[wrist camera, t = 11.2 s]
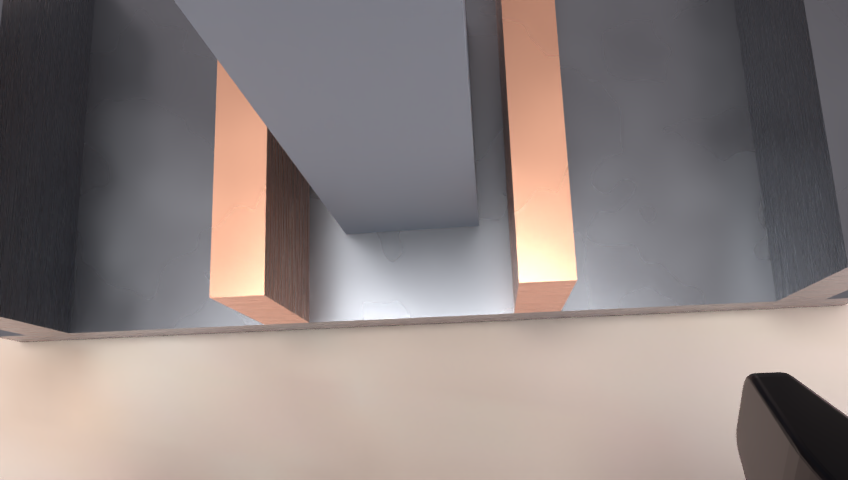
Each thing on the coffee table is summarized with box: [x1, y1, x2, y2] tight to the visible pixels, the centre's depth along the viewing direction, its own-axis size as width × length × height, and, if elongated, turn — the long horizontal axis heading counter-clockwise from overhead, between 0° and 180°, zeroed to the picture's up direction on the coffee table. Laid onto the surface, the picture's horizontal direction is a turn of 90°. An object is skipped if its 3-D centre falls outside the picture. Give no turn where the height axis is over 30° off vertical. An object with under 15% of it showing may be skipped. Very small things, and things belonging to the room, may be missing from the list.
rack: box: [0, 0, 848, 342], centre depth 17 cm, size 9×19×4 cm, turn 92°
